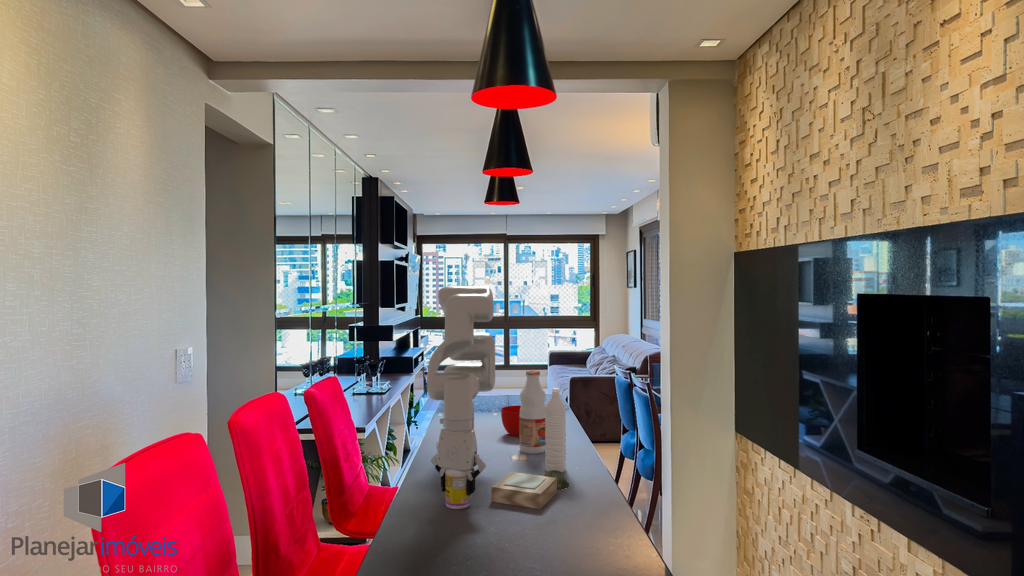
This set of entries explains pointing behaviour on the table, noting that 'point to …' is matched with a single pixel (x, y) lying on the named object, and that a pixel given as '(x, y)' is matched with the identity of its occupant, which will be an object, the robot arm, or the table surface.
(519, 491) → the plinth
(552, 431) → the water bottle
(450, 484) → the supplement bottle
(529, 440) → the fruit juice
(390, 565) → the table surface
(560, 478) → the seashell
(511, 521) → the table surface
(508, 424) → the ceramic cup
